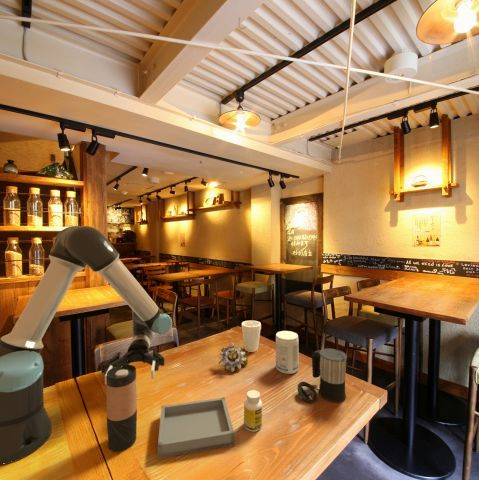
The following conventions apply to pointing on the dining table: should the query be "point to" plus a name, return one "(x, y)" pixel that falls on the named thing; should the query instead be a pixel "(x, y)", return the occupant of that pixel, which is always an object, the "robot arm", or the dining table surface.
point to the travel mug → (121, 407)
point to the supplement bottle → (253, 411)
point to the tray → (194, 427)
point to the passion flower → (233, 357)
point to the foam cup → (251, 334)
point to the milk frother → (327, 376)
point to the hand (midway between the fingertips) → (129, 377)
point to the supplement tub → (287, 352)
